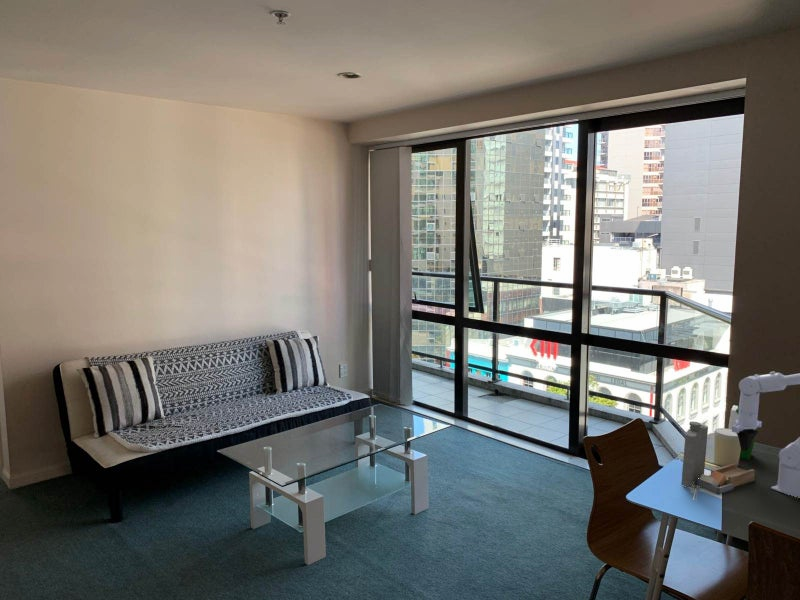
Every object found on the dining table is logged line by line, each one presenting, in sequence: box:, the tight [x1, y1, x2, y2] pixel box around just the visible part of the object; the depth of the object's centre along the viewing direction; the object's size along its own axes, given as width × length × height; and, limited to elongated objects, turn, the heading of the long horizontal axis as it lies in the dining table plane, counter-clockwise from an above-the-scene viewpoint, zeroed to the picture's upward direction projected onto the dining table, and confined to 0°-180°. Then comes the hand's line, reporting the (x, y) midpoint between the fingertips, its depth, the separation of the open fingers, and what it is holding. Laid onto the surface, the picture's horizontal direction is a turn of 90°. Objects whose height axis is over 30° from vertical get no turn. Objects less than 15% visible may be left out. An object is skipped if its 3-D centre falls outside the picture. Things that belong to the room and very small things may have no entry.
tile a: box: [709, 469, 727, 487], centre depth 197 cm, size 4×4×2 cm
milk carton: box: [728, 403, 757, 460], centre depth 226 cm, size 9×9×20 cm
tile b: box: [700, 473, 719, 487], centre depth 195 cm, size 4×4×2 cm
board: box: [710, 463, 756, 488], centre depth 202 cm, size 7×14×4 cm, turn 120°
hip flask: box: [680, 421, 709, 488], centre depth 201 cm, size 16×4×20 cm, turn 137°
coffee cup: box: [713, 427, 741, 467], centre depth 216 cm, size 9×9×12 cm
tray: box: [695, 474, 734, 495], centre depth 196 cm, size 8×8×2 cm
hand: (744, 449), depth 204 cm, fingers closed
